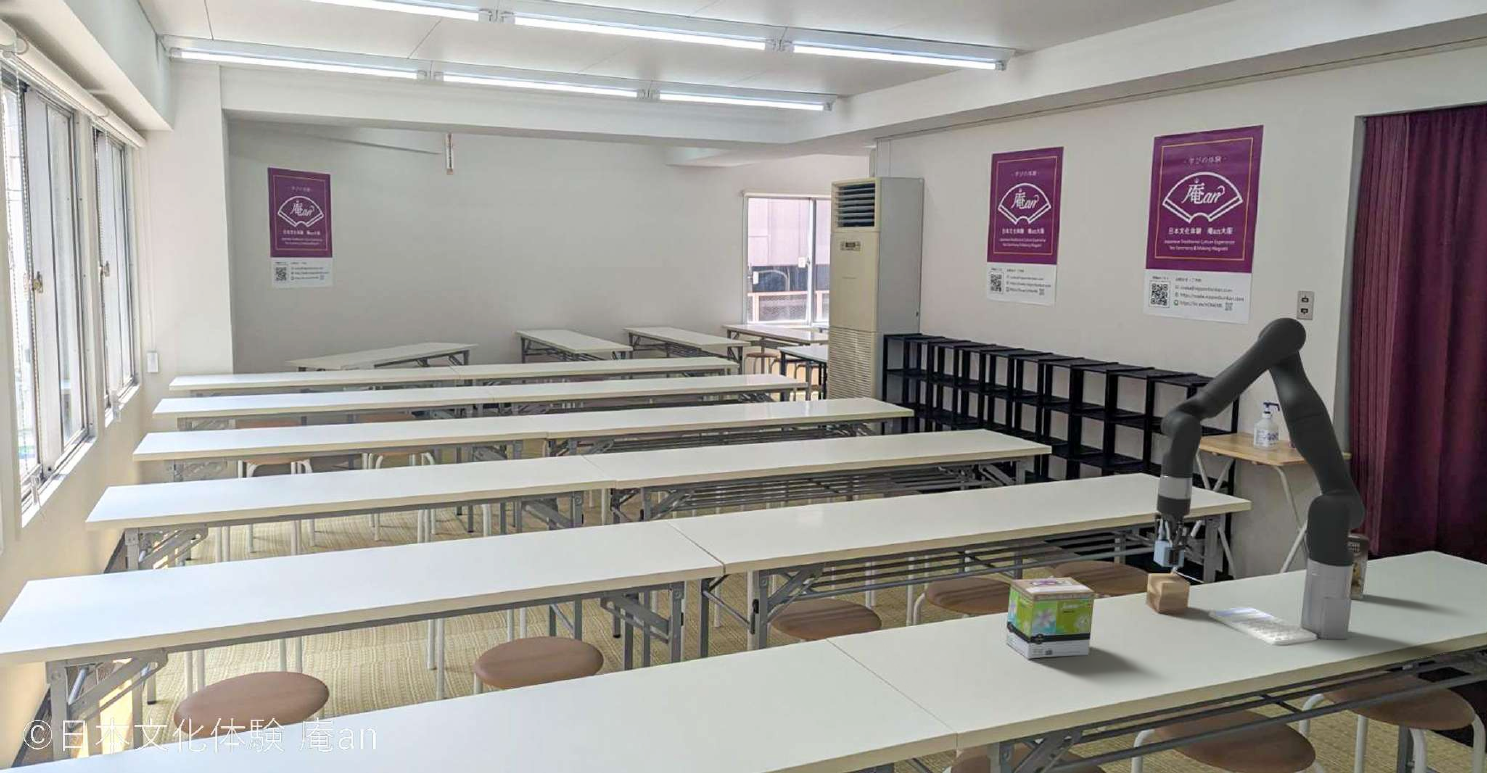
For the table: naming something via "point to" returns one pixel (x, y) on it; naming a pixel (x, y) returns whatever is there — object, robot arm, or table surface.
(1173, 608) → the base block
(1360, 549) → the coffee box
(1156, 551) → the blue cube
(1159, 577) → the top block
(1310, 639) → the calculator
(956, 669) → the table surface
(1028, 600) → the tea box
